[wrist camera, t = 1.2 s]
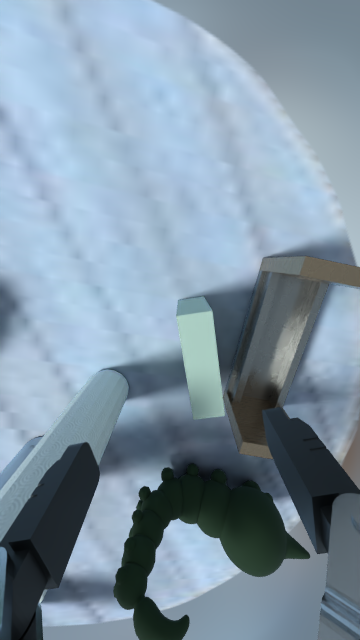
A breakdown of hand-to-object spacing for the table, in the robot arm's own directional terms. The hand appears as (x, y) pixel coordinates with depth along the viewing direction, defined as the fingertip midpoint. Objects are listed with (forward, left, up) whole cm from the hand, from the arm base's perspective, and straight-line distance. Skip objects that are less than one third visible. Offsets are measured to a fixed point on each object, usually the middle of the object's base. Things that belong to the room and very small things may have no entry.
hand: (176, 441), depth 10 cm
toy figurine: (-27, -11, -21) cm, 36 cm away
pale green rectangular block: (-2, -3, -21) cm, 22 cm away
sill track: (0, -13, -21) cm, 25 cm away
